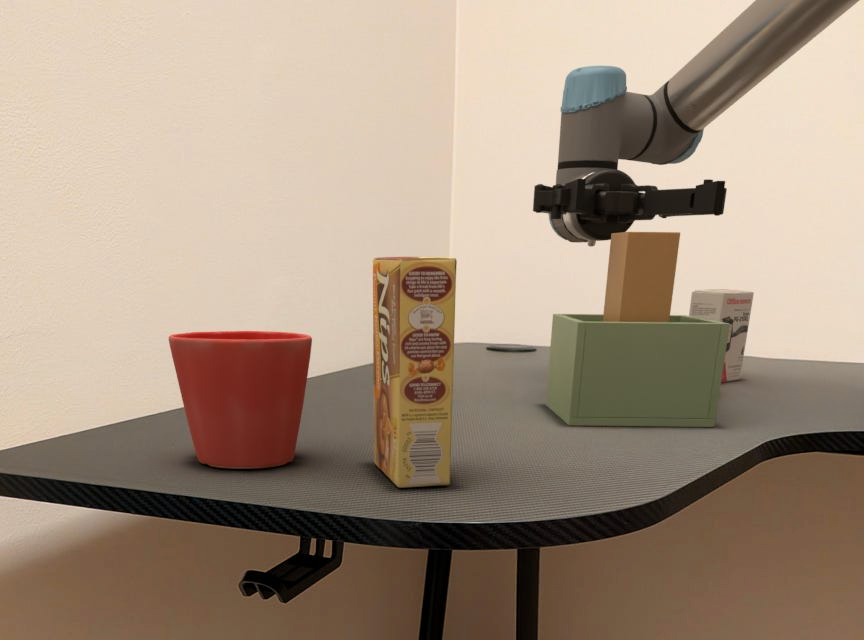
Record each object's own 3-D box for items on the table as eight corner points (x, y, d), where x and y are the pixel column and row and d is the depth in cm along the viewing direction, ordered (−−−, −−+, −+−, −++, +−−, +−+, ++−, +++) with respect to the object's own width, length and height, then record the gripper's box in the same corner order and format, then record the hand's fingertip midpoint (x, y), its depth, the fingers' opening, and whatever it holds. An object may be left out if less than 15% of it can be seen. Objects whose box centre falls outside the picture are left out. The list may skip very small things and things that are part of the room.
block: (639, 403, 100) (659, 234, 93) (657, 413, 93) (680, 232, 87) (594, 402, 100) (611, 233, 93) (609, 412, 93) (628, 231, 87)
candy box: (452, 487, 65) (462, 256, 59) (395, 490, 64) (399, 256, 59) (420, 462, 73) (426, 256, 67) (369, 464, 72) (370, 256, 66)
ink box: (712, 384, 122) (725, 290, 118) (678, 381, 125) (690, 289, 121) (741, 379, 128) (755, 289, 123) (708, 376, 131) (721, 288, 126)
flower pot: (234, 442, 80) (228, 327, 76) (338, 456, 75) (337, 333, 71) (149, 463, 72) (137, 334, 68) (260, 480, 67) (254, 342, 63)
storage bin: (673, 406, 103) (685, 315, 99) (714, 427, 91) (730, 323, 87) (545, 405, 103) (552, 313, 99) (568, 425, 90) (578, 321, 87)
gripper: (699, 242, 110) (770, 239, 90) (494, 239, 109) (519, 235, 90) (709, 172, 107) (784, 153, 87) (497, 169, 106) (525, 150, 87)
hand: (650, 195), depth 88 cm, fingers open, 13 cm apart
